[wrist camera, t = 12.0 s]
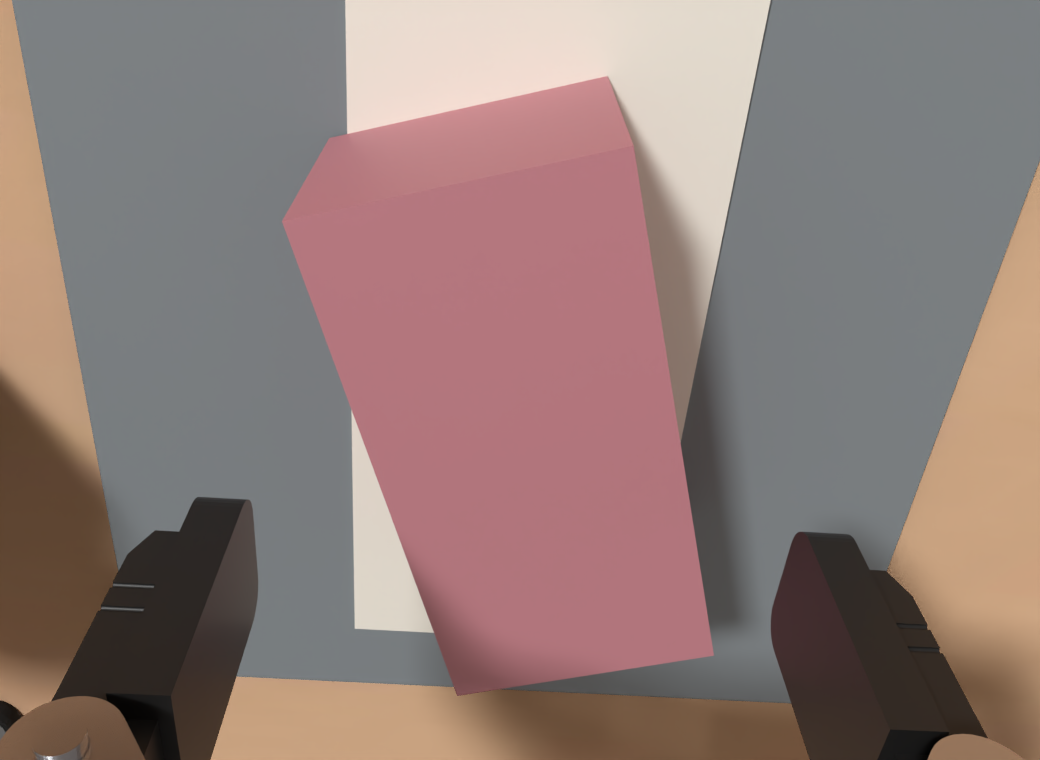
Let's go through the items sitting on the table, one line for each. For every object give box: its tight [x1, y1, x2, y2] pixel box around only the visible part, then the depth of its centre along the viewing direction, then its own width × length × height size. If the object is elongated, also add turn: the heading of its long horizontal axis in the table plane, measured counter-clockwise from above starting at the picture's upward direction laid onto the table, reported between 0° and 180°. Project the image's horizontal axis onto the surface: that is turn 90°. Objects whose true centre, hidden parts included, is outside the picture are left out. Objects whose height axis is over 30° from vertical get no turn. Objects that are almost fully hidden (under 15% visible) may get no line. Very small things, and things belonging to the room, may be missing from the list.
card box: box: [282, 76, 714, 696], centre depth 17 cm, size 10×5×4 cm, turn 12°
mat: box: [12, 0, 1040, 703], centre depth 19 cm, size 18×20×1 cm
